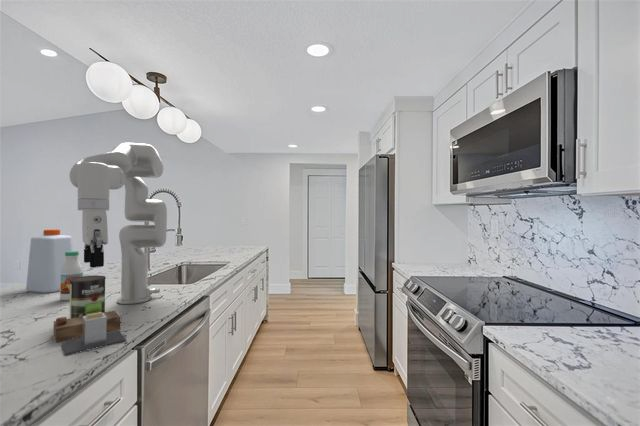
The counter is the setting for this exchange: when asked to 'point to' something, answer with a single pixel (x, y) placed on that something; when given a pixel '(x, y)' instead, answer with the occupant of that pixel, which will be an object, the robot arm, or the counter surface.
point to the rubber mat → (79, 346)
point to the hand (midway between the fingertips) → (93, 264)
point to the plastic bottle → (47, 261)
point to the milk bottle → (69, 273)
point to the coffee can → (87, 295)
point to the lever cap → (94, 328)
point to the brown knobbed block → (81, 326)
